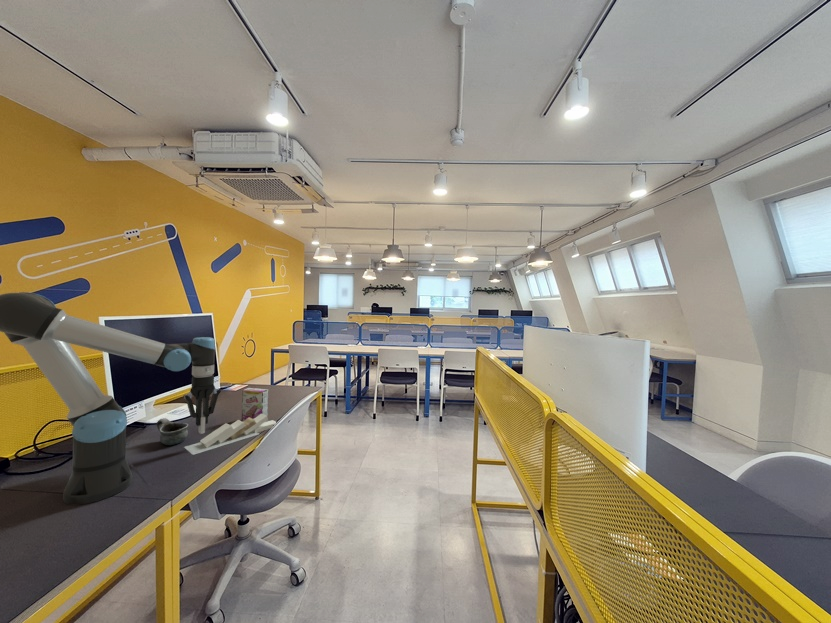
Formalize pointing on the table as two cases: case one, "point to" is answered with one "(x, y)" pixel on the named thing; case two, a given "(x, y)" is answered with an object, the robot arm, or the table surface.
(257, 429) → the domino
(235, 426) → the domino
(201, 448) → the mat
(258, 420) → the domino
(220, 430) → the domino
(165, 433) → the mug
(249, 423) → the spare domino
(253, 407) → the candy bar box
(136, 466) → the table surface
